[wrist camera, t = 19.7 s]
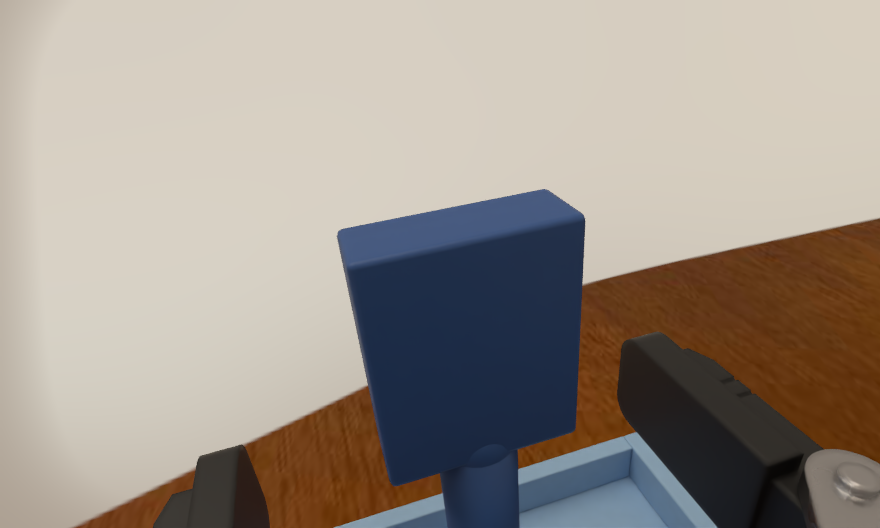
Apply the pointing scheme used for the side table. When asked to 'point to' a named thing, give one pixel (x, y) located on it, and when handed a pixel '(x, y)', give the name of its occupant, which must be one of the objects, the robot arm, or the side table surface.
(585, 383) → the side table surface
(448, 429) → the blue sign on stand
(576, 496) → the tray
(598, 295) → the side table surface
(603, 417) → the side table surface
